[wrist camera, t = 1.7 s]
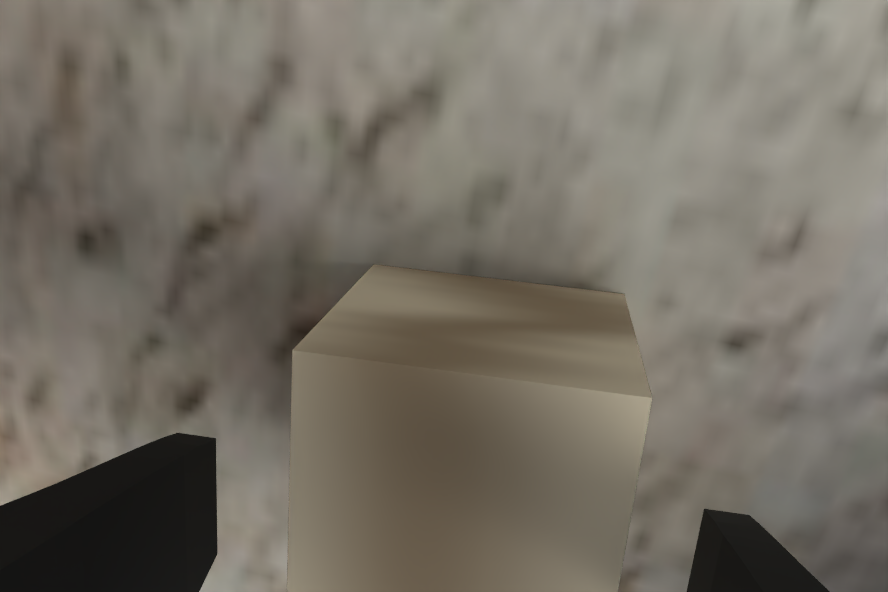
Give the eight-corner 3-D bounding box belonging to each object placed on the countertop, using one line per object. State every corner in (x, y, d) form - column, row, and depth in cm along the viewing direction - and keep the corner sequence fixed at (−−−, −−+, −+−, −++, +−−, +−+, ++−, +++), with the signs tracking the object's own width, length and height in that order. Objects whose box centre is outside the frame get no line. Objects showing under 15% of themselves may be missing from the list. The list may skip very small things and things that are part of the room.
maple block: (623, 292, 15) (652, 397, 10) (589, 513, 16) (599, 694, 12) (374, 263, 16) (291, 350, 11) (362, 479, 17) (285, 639, 12)
